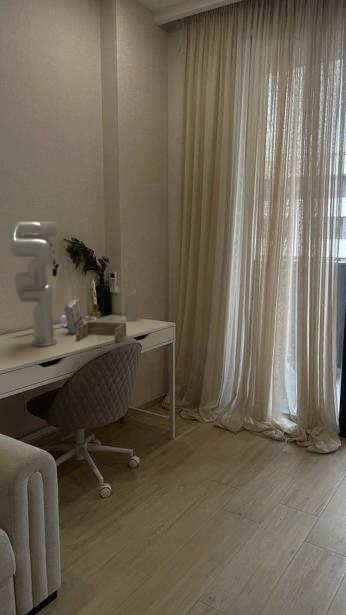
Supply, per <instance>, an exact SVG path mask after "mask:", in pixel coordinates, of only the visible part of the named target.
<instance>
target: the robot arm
mask: <svg viewBox="0 0 346 615" xmlns="http://www.w3.org/2000/svg"><path fill="white" fill-rule="evenodd" d="M11 233H12V234H11V239H10V248H9V249H10V253H11V255H12V256H14V257H18V258H32V260H31V261H30V262H29V263H28V264H27V267H26V268H27V269H22V270H21V269H20V270H17V271H16V272H15V274H14V276H13V283H14V287H15V291H16V295H17V298H18V300H19V301H20V302H21V303H37V304H36V305H35V307H34V308H33V312H32V314H33V329H34V330H33V331H34V332H33V333H34V335H33V336H34V339H32V341H31V345H32V346H34V347H35V346H36V347H47V346H48V347H49V346H53V345H56V344H57V342H58V341H57V339H55V338H54V336H55V334H54V319H53V296H54V288H53V286H52V285H51V284H49V280H48V274H47V267H48V266H51V268H52V276H53V277H57V275H58V272H57V271H58V268H59V266H60V264H61V260H59V259H58V258H57V257H56V252H55V248H54V247H53V246H55V243H54V242H53V238H54V237H57V236H58V235H59V233H60V226H59V223H58V222H57V221H42V220H37V221H34V220H33V221H32V220H31V221H27V220H26V221H16V222H15V223H14V226H13V229H12V232H11ZM33 257H34V258H33Z"/></svg>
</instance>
